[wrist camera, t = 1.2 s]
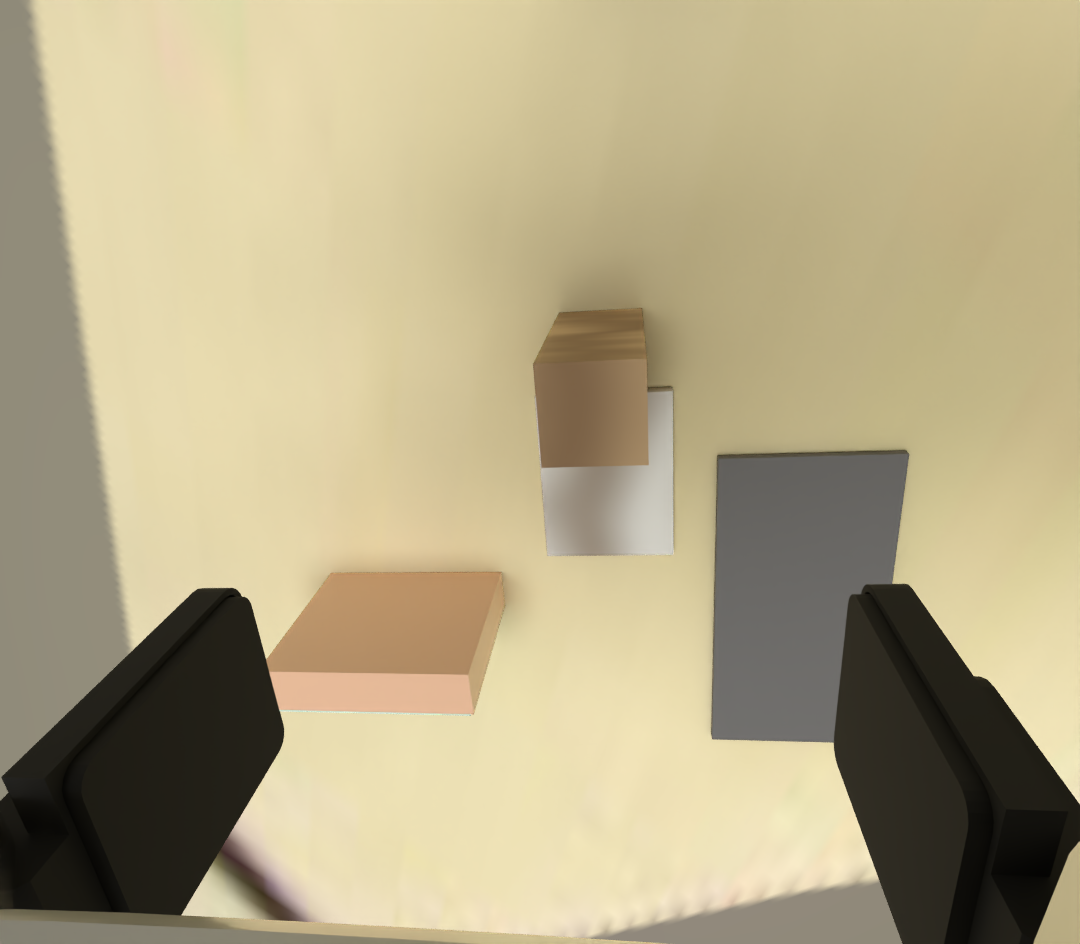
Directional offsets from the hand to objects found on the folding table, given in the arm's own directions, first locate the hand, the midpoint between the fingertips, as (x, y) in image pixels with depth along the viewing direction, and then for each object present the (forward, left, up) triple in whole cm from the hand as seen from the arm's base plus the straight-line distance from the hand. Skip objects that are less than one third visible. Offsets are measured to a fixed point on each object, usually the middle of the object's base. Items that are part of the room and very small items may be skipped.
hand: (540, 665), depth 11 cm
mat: (-9, +13, -22) cm, 27 cm away
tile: (+10, +12, -22) cm, 27 cm away
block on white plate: (0, +4, -22) cm, 22 cm away
